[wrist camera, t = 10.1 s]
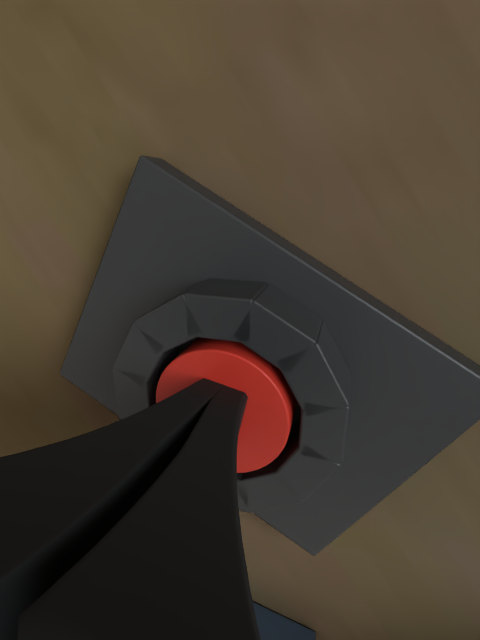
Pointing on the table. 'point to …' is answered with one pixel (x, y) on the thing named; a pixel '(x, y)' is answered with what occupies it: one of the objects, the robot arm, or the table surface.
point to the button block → (270, 351)
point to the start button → (244, 375)
